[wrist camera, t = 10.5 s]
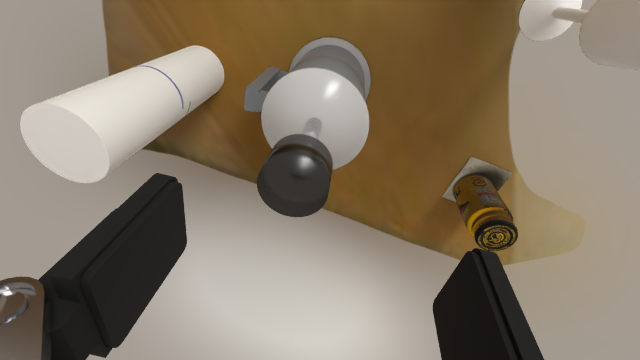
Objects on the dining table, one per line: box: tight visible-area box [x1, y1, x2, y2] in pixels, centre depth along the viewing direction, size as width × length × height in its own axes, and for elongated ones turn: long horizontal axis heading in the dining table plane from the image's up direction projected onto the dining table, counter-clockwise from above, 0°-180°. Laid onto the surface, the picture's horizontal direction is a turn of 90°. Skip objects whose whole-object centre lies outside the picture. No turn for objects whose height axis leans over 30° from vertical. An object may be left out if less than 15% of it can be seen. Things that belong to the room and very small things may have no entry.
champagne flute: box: [519, 0, 640, 72], centre depth 27 cm, size 7×7×24 cm
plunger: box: [257, 118, 333, 217], centre depth 26 cm, size 5×5×11 cm
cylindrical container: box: [20, 46, 224, 183], centre depth 36 cm, size 7×7×25 cm
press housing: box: [244, 37, 371, 170], centre depth 38 cm, size 14×12×16 cm
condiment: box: [442, 157, 518, 251], centre depth 46 cm, size 7×8×12 cm
